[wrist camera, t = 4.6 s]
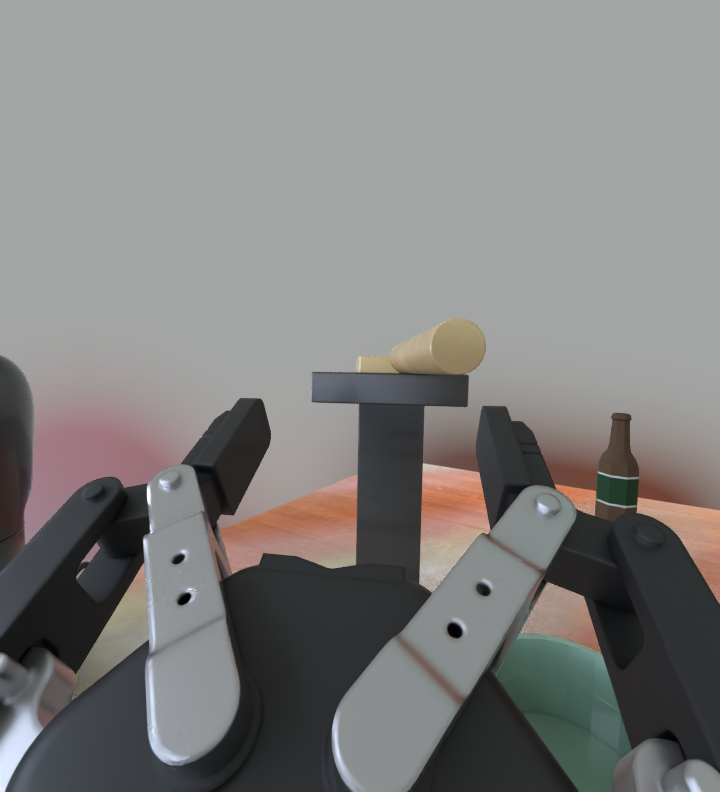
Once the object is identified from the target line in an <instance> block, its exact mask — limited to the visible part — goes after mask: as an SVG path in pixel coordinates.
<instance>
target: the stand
mask: <svg viewBox="0 0 720 792" xmlns="http://www.w3.org/2000/svg"><path fill="white" fill-rule="evenodd" d="M468 385H469V376H468V375H438V374H403V373H356V372H352V373H351V372H350V373H349V372H313V373H312V402H319V403H353V404H355V403H356V404H359V426H358V429H359V431H358V484H357V543H356V565H361V564H367V563H372V564H383V565H394V566H404V567H406V574H405V578H406V579H409V580H412V581H414V582H416V583H418V584H419V570H420V536H421V502H422V468H423V434H424V406H452V407H467V406H468Z"/></svg>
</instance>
